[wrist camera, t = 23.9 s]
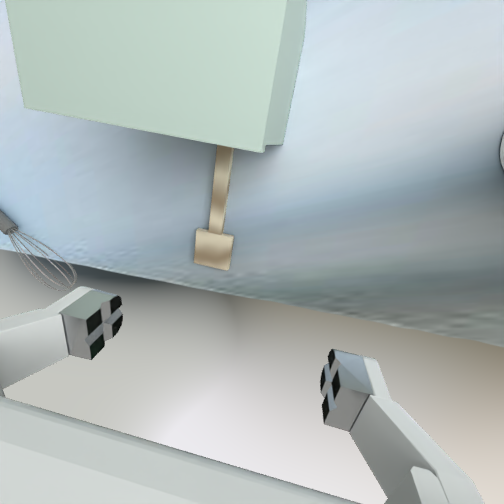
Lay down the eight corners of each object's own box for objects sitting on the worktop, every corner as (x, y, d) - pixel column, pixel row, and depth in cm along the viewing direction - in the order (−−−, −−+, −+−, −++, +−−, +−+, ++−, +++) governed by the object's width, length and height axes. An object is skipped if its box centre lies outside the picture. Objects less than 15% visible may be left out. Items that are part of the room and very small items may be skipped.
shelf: (305, 31, 35) (322, -208, 11) (282, 147, 41) (261, 152, 17) (181, 13, 36) (-38, -233, 13) (176, 128, 42) (24, 108, 19)
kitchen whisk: (-43, 158, 52) (-84, 160, 46) (90, 272, 58) (67, 286, 52) (-50, 179, 54) (-91, 183, 49) (78, 286, 61) (55, 301, 55)
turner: (193, 262, 50) (197, 259, 52) (227, 270, 49) (230, 266, 51) (203, 136, 41) (207, 137, 42) (246, 144, 40) (248, 144, 42)
